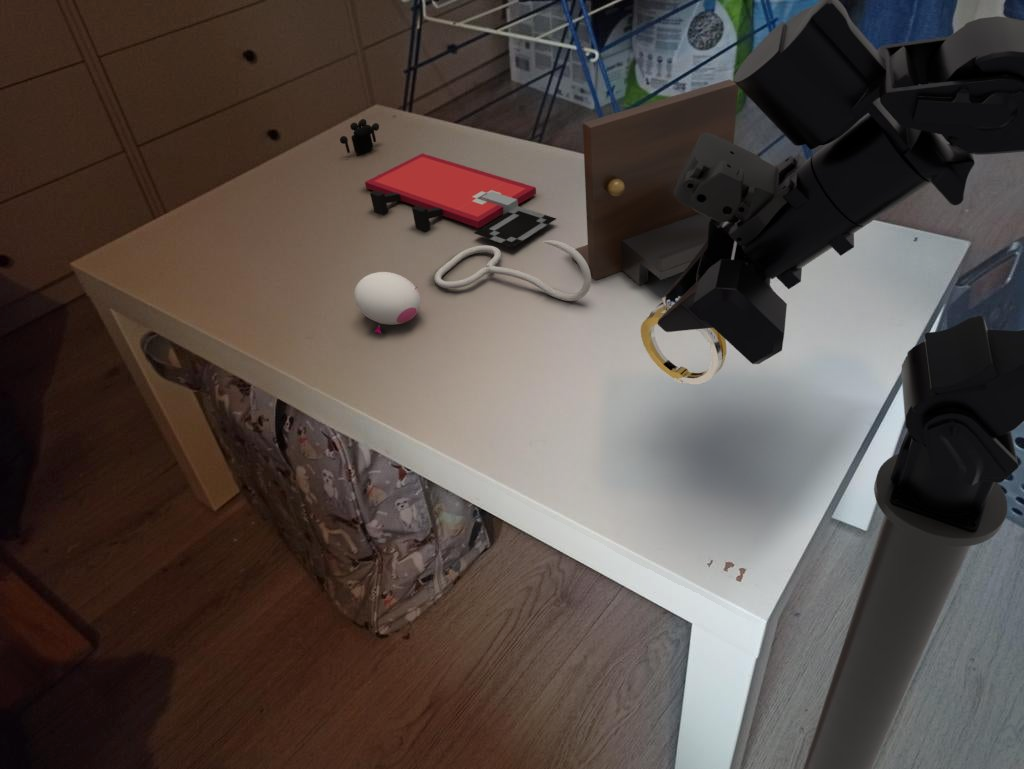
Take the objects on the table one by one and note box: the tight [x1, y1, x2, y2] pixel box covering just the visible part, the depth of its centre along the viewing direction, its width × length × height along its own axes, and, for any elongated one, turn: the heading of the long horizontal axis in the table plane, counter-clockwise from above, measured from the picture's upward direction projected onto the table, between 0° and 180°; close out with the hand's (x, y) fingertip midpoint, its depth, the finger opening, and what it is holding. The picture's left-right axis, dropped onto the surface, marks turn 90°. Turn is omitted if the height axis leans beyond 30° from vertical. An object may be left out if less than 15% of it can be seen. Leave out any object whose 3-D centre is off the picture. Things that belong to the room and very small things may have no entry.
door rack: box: [571, 79, 739, 286], centre depth 86 cm, size 13×18×18 cm
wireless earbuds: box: [339, 118, 380, 155], centre depth 122 cm, size 7×2×5 cm, turn 131°
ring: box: [640, 295, 727, 385], centre depth 63 cm, size 7×3×8 cm, turn 46°
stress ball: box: [354, 271, 421, 335], centre depth 87 cm, size 8×8×7 cm
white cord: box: [433, 239, 592, 302], centre depth 89 cm, size 7×9×20 cm
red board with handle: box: [364, 152, 557, 248], centre depth 106 cm, size 30×3×15 cm
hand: (665, 313), depth 62 cm, fingers closed on ring, 3 cm apart
